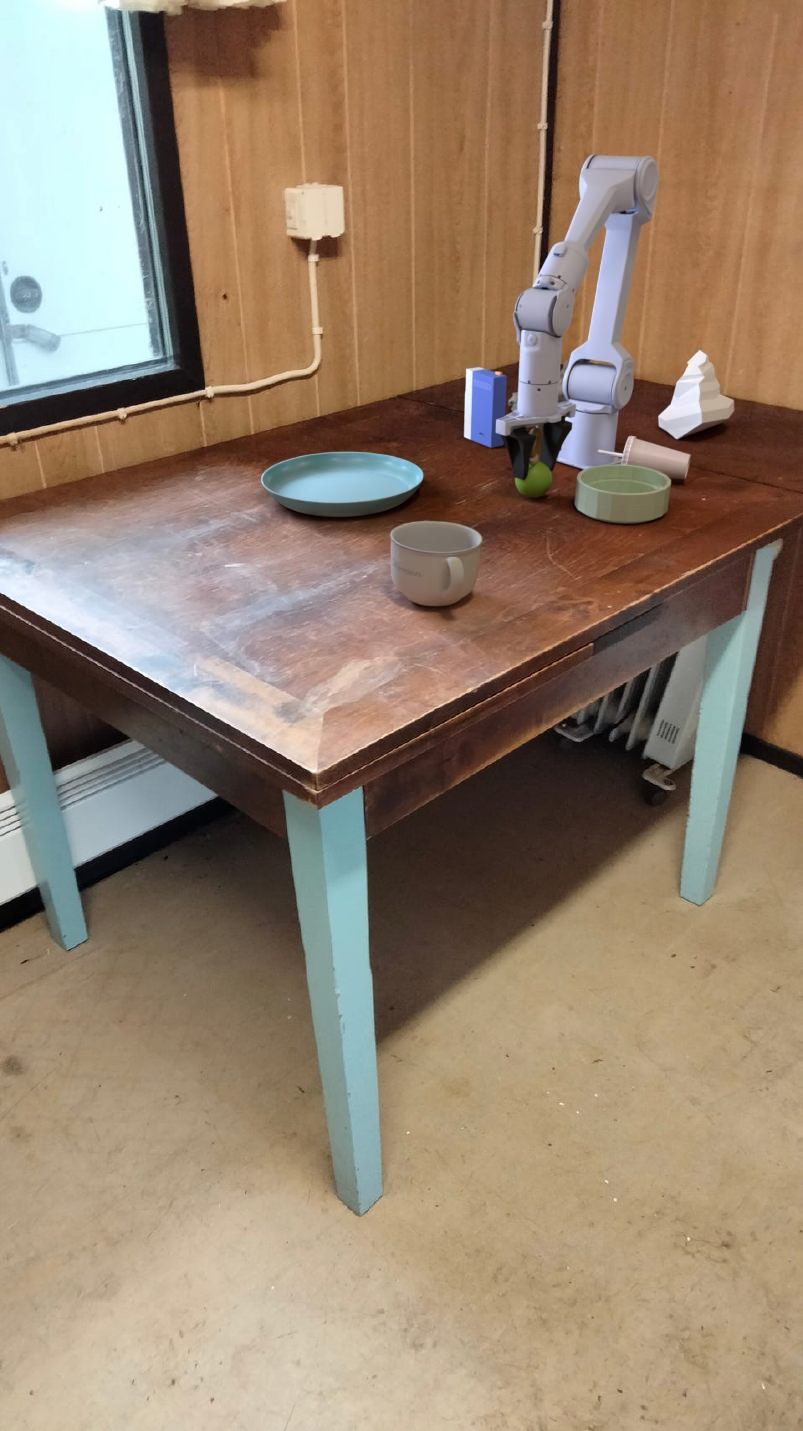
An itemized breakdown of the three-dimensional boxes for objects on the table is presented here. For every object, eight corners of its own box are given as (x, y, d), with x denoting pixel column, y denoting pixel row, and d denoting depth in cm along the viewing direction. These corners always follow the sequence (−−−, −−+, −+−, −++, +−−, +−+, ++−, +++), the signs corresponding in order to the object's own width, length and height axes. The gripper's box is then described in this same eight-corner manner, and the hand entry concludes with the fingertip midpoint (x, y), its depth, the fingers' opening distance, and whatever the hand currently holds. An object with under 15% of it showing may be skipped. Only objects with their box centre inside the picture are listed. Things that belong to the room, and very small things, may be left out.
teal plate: (456, 493, 156) (456, 472, 154) (341, 538, 141) (340, 515, 139) (344, 460, 170) (344, 440, 168) (229, 497, 155) (227, 476, 153)
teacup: (387, 579, 129) (386, 518, 125) (473, 576, 130) (475, 515, 126) (396, 629, 117) (396, 564, 113) (491, 625, 118) (493, 560, 114)
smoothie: (694, 444, 159) (605, 429, 163) (690, 446, 154) (598, 431, 158) (684, 486, 162) (597, 470, 166) (680, 489, 156) (590, 473, 160)
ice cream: (640, 442, 182) (636, 357, 178) (688, 432, 192) (685, 352, 187) (702, 438, 173) (699, 349, 169) (749, 428, 182) (748, 343, 178)
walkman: (503, 445, 176) (507, 373, 170) (490, 448, 175) (493, 375, 169) (476, 434, 182) (478, 364, 176) (463, 436, 181) (465, 366, 174)
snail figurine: (555, 489, 156) (559, 410, 150) (546, 504, 151) (550, 423, 145) (520, 486, 158) (523, 407, 151) (510, 501, 153) (512, 420, 146)
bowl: (555, 507, 151) (557, 477, 148) (614, 487, 158) (617, 458, 155) (626, 532, 142) (630, 501, 140) (685, 510, 149) (690, 480, 147)
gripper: (523, 394, 139) (518, 491, 146) (594, 376, 147) (586, 469, 154) (486, 384, 144) (483, 479, 151) (558, 367, 151) (551, 458, 159)
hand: (533, 473), depth 153 cm, fingers closed on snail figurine, 5 cm apart
